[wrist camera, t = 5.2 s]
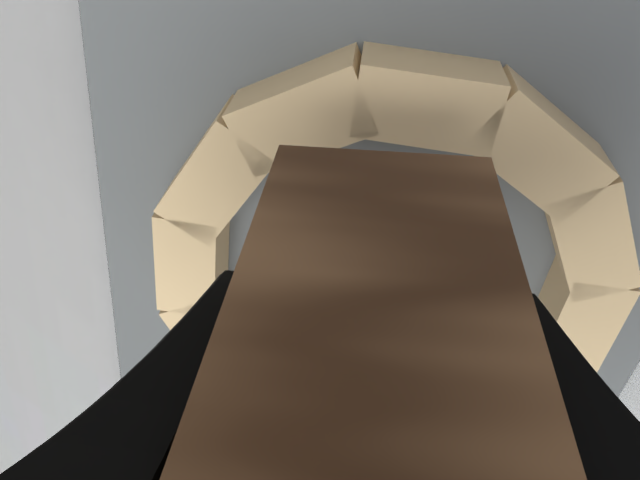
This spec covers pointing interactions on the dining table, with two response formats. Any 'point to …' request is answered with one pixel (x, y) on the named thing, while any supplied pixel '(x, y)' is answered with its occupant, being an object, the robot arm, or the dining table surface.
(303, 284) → the wooden peg
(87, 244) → the dining table surface
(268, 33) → the bead board
